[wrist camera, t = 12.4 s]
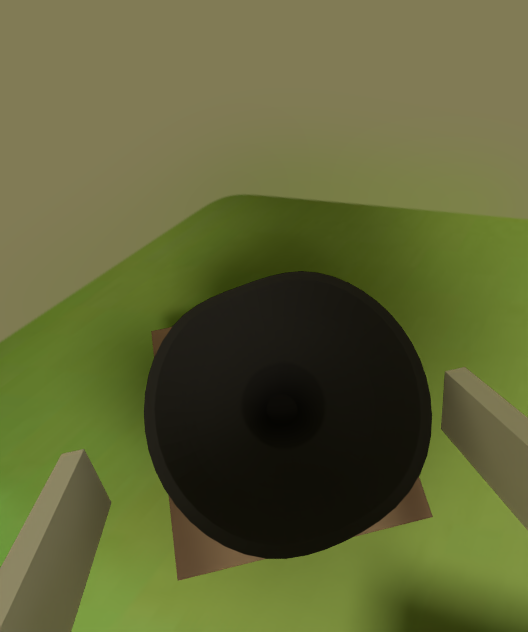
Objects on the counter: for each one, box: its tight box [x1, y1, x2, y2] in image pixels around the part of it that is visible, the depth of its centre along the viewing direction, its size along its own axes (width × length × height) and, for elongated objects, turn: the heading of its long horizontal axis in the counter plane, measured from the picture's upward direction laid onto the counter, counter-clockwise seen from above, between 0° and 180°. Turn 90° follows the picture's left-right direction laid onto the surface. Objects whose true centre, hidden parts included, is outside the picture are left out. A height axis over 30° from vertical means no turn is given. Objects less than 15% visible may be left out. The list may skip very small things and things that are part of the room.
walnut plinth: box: [151, 327, 433, 580], centre depth 23 cm, size 14×14×4 cm
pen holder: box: [144, 271, 432, 559], centre depth 16 cm, size 9×9×10 cm
